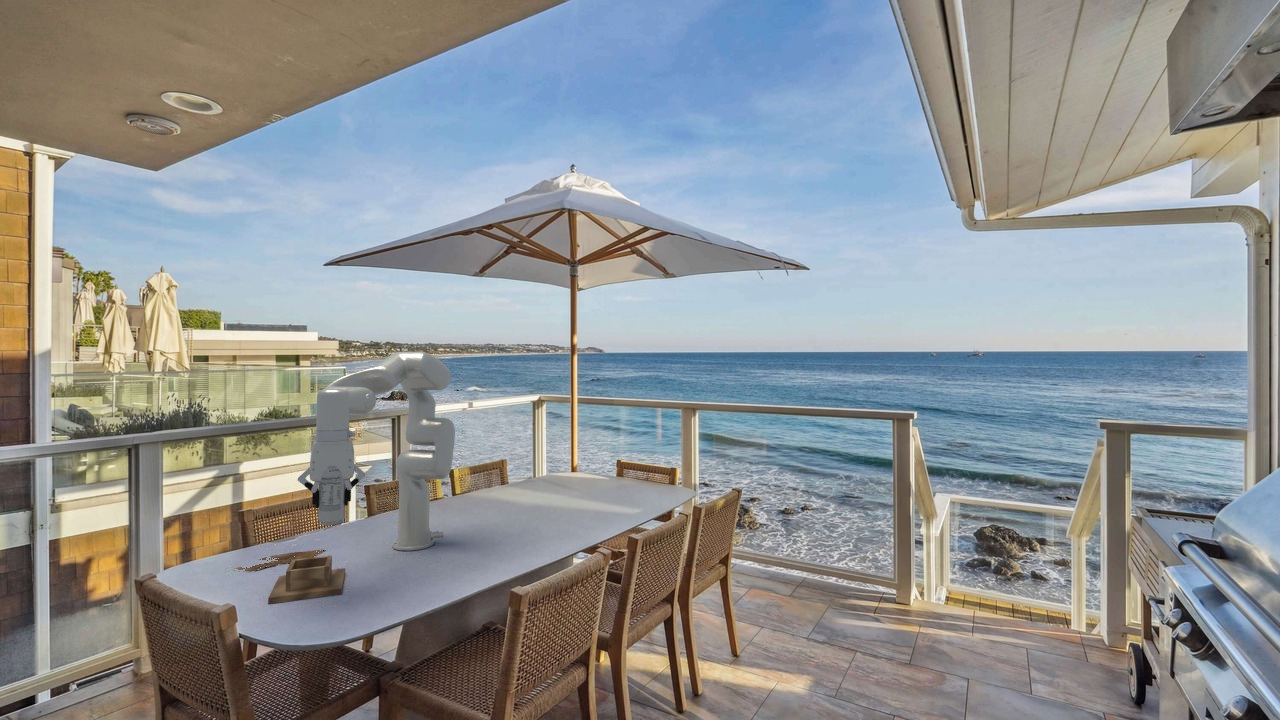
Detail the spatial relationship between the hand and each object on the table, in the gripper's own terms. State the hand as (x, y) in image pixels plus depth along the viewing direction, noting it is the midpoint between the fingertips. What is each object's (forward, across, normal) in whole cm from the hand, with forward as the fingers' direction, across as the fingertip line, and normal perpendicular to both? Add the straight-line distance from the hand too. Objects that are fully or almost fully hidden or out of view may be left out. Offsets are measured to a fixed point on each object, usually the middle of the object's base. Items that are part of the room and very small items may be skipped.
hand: (331, 505), depth 145 cm
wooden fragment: (+24, +14, -35) cm, 45 cm away
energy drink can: (+5, 0, 0) cm, 5 cm away
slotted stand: (+23, +5, -7) cm, 25 cm away
